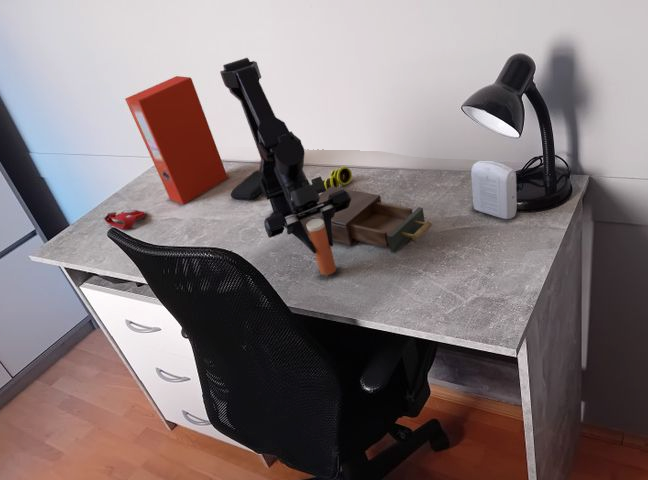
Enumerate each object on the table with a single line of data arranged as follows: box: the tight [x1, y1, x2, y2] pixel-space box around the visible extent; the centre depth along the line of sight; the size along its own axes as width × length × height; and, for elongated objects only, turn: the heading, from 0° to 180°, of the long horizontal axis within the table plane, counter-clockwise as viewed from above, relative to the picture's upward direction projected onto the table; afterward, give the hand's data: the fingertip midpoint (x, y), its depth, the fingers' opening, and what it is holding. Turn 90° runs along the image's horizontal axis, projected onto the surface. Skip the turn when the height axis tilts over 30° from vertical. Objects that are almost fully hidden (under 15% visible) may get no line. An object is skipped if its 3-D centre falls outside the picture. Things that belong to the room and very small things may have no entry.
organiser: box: [300, 186, 383, 247], centre depth 132 cm, size 16×14×6 cm
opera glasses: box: [321, 166, 353, 194], centre depth 150 cm, size 10×5×5 cm, turn 149°
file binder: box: [124, 75, 228, 205], centre depth 160 cm, size 8×17×32 cm, turn 138°
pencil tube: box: [306, 219, 337, 276], centre depth 115 cm, size 4×4×12 cm
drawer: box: [348, 201, 433, 254], centre depth 123 cm, size 19×12×4 cm, turn 51°
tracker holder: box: [102, 209, 146, 230], centre depth 159 cm, size 12×4×10 cm
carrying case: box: [230, 170, 264, 202], centre depth 159 cm, size 11×3×15 cm
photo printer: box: [470, 160, 518, 220], centre depth 121 cm, size 10×4×12 cm, turn 42°
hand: (323, 249), depth 113 cm, fingers closed on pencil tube, 3 cm apart
